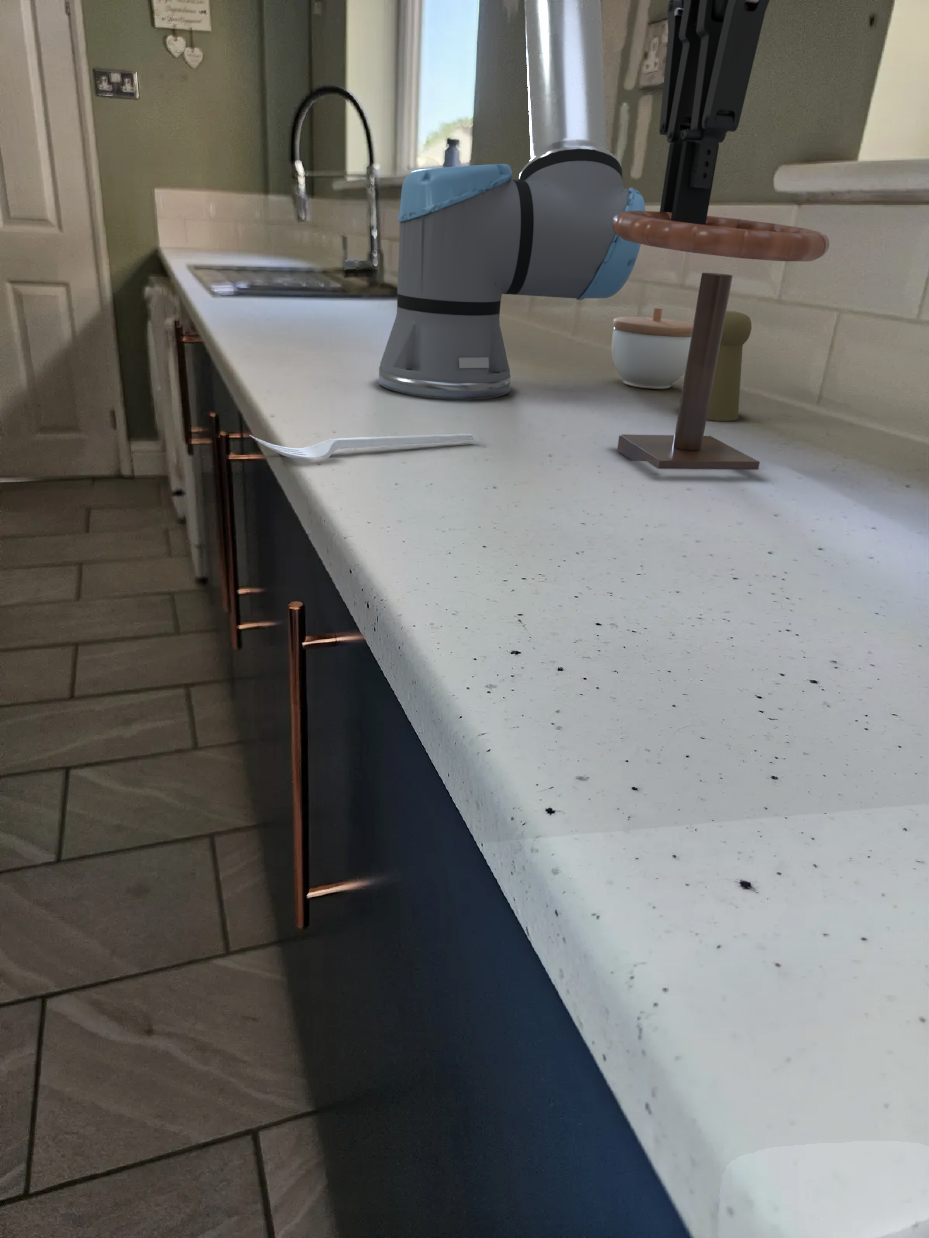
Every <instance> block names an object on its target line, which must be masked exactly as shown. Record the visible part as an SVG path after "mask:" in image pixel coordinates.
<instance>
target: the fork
mask: <svg viewBox="0 0 929 1238" xmlns="http://www.w3.org/2000/svg"><path fill="white" fill-rule="evenodd" d="M249 437H251V438H252V439H254V440H255V441H257V442H258V443H259V444H261V445H263V446H265V447H266V448H267V449H269V450H271V451H273V452H275V453H277V454H279V455H281V456H284V457H287V458H291V459H292V458H293V459H294V458H297V459H298V458H299V459H301V458H302V459H304V458H305V459H310V458H311V459H328V458H330V457H331V456H332V455H333V453H334V452H335V451H337V450H342V449H358V448H372V447H373V448H374V447H387V446H389V447H390V446H407V445H421V444H437V443H452V442H453V443H454V442H467V441H469V442H470V441H475V439H474V435H473V434H472V433H468V432H467V433H443V434H442V433H440V434H419V435H418V434H414V435H388V436H363V437H362V436H361V437H340V438H339V437H337V438H330V439H326V440H323V441H321V442H317V443H315V444H312V445H309V446H305V447H288V446H282V445H278V444H273V443H270V442H268V441H264V440H263V439H260V438H257V437H255V436H253V435H251V434H249Z"/></svg>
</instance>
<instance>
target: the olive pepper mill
mask: <svg viewBox="0 0 929 1238" xmlns="http://www.w3.org/2000/svg"><path fill="white" fill-rule="evenodd" d="M752 326H753V325H752V320H751V318H750V316H748V315H747V314H745V313H742V312H739V311H736V310H729V309H727V310H726V315H725V321H724V326H723V332H722V337H721V343H720V348H719V354H718V359H717V365H716V370H715V375H714V381H713V386H712V392H711V397H710V403H709V408H708V414H707V419H706V421H707V420H708V421H717V422H731V421H736V420H738V419H739V409H740V408H739V407H740V392H741V376H742V363H743V362H742V361H743V346H744V344H745V343H747V342H748V340H749V338H750V335H751V332H752Z"/></svg>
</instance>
